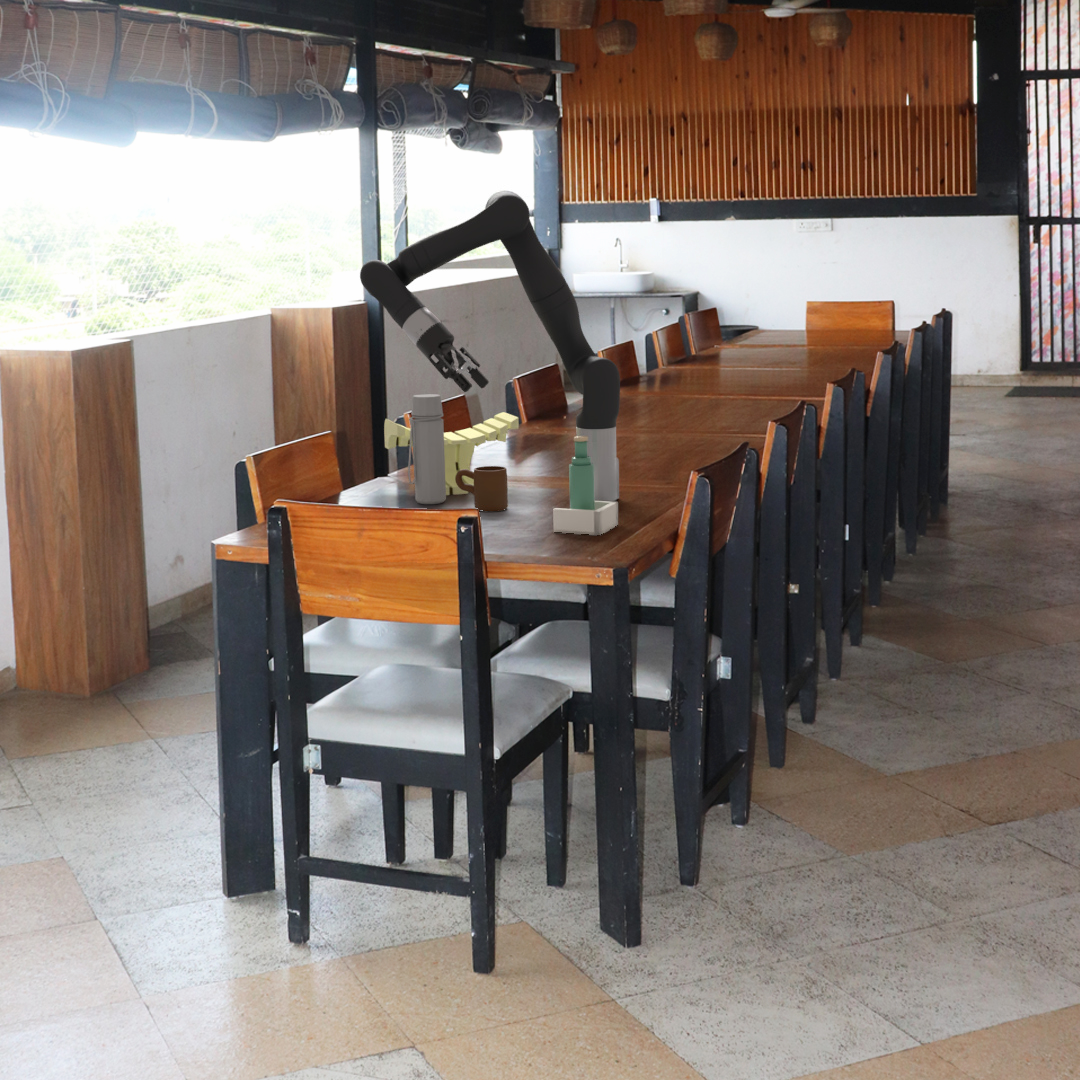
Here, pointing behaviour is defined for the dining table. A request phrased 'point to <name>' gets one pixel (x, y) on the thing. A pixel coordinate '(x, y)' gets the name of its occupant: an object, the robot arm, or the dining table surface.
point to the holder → (586, 519)
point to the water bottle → (427, 449)
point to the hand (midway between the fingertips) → (477, 387)
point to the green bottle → (581, 477)
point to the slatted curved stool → (457, 444)
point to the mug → (486, 487)
